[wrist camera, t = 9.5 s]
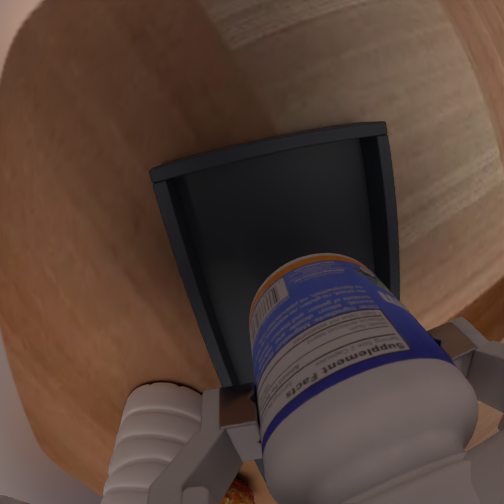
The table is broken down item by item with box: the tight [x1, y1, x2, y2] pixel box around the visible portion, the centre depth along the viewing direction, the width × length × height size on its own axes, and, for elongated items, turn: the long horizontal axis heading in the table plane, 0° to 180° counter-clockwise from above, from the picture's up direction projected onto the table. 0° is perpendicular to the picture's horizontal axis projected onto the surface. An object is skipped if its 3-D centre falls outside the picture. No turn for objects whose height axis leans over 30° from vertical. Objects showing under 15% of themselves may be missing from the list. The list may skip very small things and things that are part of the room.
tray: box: [149, 121, 400, 482], centre depth 18 cm, size 27×10×3 cm, turn 13°
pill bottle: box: [249, 253, 480, 504], centre depth 8 cm, size 5×5×10 cm
